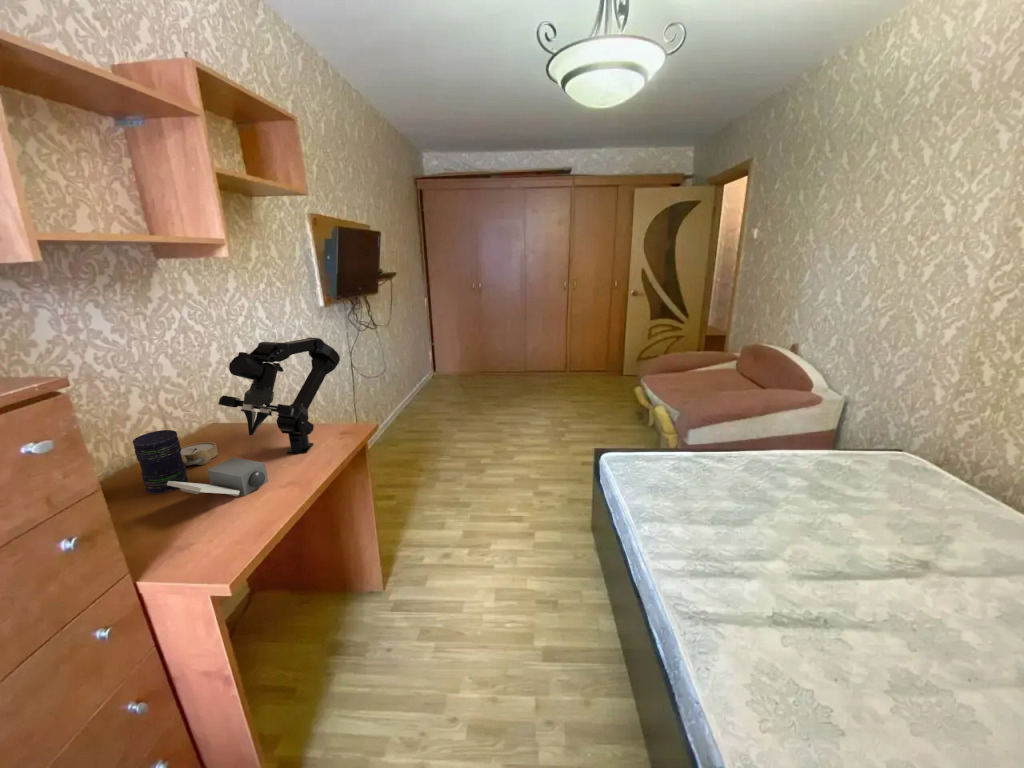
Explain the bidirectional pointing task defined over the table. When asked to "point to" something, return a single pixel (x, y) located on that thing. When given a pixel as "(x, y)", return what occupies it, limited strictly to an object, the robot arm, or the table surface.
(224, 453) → the table surface
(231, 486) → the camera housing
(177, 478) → the storage jar
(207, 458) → the alarm clock
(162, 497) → the table surface
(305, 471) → the table surface
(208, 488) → the door
